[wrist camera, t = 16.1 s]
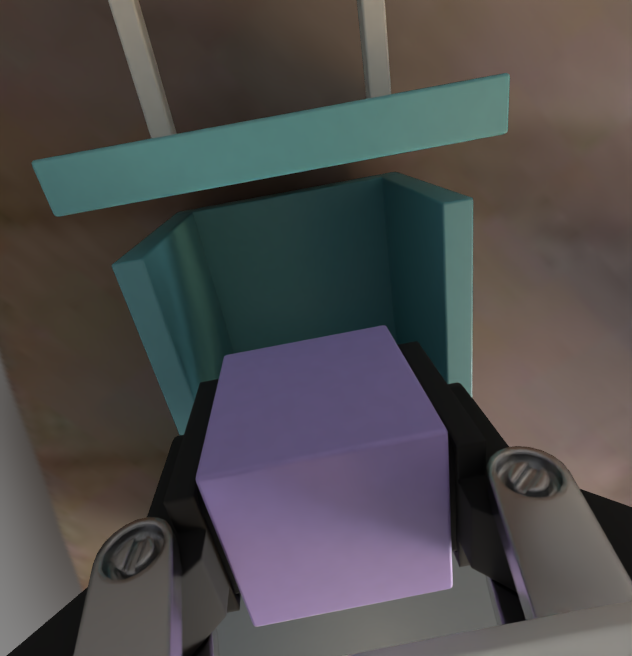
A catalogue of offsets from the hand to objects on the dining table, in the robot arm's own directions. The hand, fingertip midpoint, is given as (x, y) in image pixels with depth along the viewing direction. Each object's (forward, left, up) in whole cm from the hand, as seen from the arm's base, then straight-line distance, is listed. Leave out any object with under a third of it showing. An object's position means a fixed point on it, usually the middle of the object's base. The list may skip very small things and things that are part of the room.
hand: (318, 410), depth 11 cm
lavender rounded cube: (0, 0, 0) cm, 0 cm away
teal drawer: (-3, 0, -9) cm, 9 cm away
